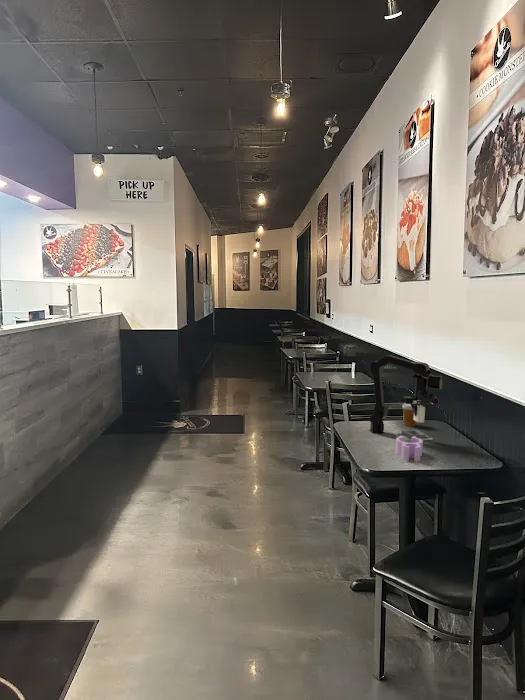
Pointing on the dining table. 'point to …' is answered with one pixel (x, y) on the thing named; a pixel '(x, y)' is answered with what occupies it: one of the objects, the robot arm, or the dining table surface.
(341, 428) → the dining table surface
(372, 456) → the dining table surface
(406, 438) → the circuit board
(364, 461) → the dining table surface
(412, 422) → the disposable coffee cup
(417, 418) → the keyed plug
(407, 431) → the header socket
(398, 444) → the clip
